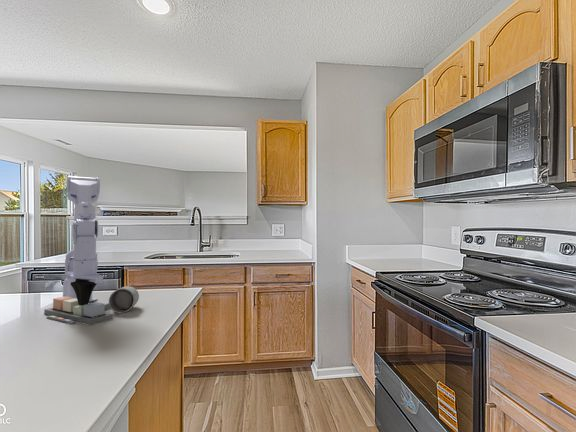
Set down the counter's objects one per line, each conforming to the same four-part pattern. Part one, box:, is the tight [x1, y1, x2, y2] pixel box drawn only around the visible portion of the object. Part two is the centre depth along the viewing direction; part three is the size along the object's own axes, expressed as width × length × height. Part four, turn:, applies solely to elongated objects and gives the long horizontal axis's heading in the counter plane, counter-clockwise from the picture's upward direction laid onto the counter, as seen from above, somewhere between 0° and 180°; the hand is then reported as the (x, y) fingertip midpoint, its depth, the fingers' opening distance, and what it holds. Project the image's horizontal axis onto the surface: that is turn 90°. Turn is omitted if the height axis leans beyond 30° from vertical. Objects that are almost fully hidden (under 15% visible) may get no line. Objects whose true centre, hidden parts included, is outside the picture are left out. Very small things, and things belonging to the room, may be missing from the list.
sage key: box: [73, 305, 84, 316], centre depth 101 cm, size 4×4×3 cm
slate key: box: [84, 301, 106, 318], centre depth 99 cm, size 4×4×3 cm
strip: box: [46, 315, 76, 325], centre depth 98 cm, size 12×1×1 cm, turn 64°
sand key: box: [63, 298, 79, 312], centre depth 103 cm, size 4×4×3 cm
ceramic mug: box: [105, 285, 140, 314], centre depth 110 cm, size 11×8×8 cm
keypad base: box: [43, 307, 114, 326], centre depth 102 cm, size 22×7×1 cm, turn 64°
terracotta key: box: [52, 296, 73, 310], centre depth 106 cm, size 4×4×3 cm
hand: (83, 304), depth 101 cm, fingers closed
